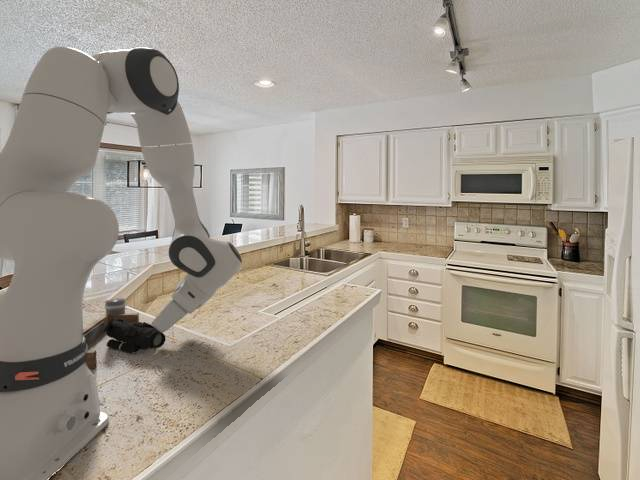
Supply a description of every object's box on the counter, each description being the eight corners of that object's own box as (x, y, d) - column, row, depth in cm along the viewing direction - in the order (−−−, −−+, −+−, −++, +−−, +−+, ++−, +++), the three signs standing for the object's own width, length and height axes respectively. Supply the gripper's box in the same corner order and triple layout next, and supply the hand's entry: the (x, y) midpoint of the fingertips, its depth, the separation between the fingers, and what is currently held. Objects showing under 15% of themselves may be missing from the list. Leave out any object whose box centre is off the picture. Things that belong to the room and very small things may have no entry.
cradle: (94, 369, 73) (93, 352, 73) (47, 371, 72) (46, 354, 71) (138, 326, 99) (138, 313, 99) (105, 327, 97) (105, 314, 97)
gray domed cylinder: (121, 325, 99) (121, 303, 98) (102, 325, 98) (101, 303, 98) (128, 319, 104) (128, 298, 104) (110, 319, 104) (109, 298, 103)
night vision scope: (162, 364, 81) (132, 352, 74) (115, 350, 88) (83, 338, 81) (177, 334, 85) (151, 319, 78) (131, 323, 92) (103, 308, 85)
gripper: (193, 275, 97) (158, 307, 97) (173, 294, 77) (130, 335, 77) (208, 290, 98) (174, 322, 98) (193, 312, 78) (150, 352, 78)
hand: (154, 328), depth 87 cm, fingers closed
